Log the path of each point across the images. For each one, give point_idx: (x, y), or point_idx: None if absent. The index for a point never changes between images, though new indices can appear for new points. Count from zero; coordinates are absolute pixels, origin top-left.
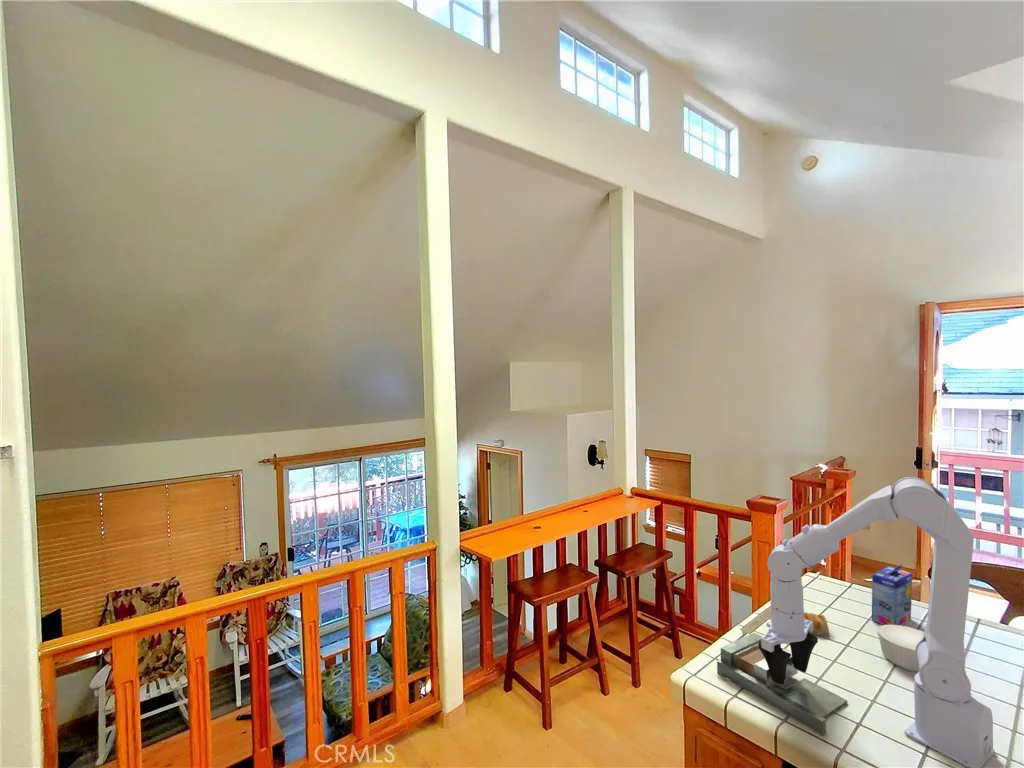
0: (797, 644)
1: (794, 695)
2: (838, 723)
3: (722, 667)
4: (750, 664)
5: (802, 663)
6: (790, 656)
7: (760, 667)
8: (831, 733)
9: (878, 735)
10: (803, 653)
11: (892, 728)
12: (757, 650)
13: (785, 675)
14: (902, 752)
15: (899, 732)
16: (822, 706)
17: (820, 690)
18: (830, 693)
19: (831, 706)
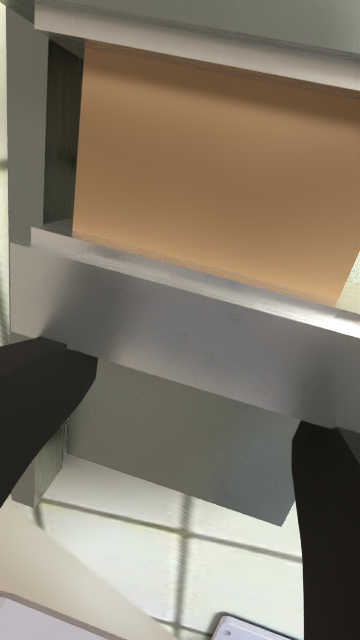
0: (351, 581)
1: (159, 380)
2: (138, 491)
3: None
4: (79, 181)
5: (301, 474)
6: (327, 417)
7: (12, 288)
8: (74, 477)
9: (169, 565)
10: (317, 550)
11: (233, 594)
12: (333, 135)
13: (60, 423)
14: (143, 594)
15: (227, 603)
16: (169, 464)
17: (284, 453)
18: (287, 483)
19: (195, 486)
